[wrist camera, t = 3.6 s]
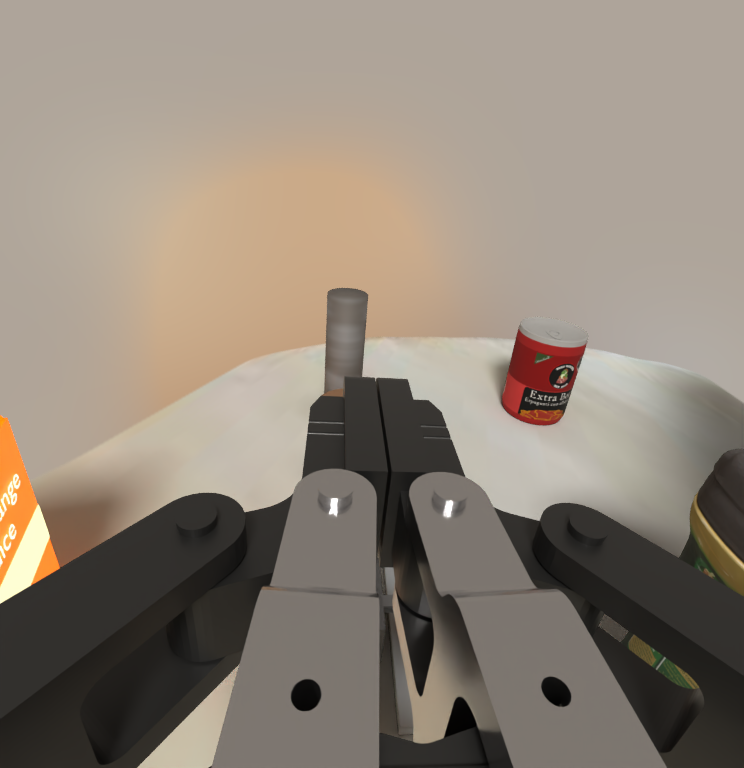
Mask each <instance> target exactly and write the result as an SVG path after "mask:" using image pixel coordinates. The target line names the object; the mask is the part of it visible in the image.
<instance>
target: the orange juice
mask: <svg viewBox="0 0 744 768" xmlns="http://www.w3.org/2000/svg"><path fill="white" fill-rule="evenodd" d="M49 537H50V535H49V532H48V529H47V526H46V523H45V521H44V518H43V515H42V512H41V509H40V506H39V504H37V501H36V498H35V496H34V493H33V490H32V487H31V484H30V481H29V478H28V476H27V473H26V470H25V467H24V464H23V461H22V459H21V456H20V453H19V450H18V447H17V444H16V441H15V439H14V436H13V433H12V430H11V427H10V424H9V421H8V419H7V418H3V417H2V416H0V603H2V602H4V601H5V600H7V599H9V598H10V597H12V596H14V595H15V594H17V593H19V592H20V591H22V590H24V589H26V588H27V587H29V586H31V585H32V584H34V583H36V582H37V581H39V580H41V579H42V578H44V577H46V576H47V575H49V574H51V573H53V572H54V571H56V570H58V569H59V568H60V567H59V564H58V561H57V558H56V555H55V553H54V550H53V547H52V544H51V541H50V538H49Z"/></svg>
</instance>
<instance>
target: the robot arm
mask: <svg viewBox="0 0 744 768" xmlns="http://www.w3.org/2000/svg"><path fill="white" fill-rule="evenodd" d="M377 556H379V567H391V568H394V577H395V586H394V592H393V599H392V605H393V611H394V617H395V622H396V627H397V632H398V637H399V643H400V648H401V653H402V658H403V663H404V669H405V674H406V679H407V684H408V689H409V694H410V700H411V705H412V713H413V742H412V741H408V740H404V739H401V738H397V737H394V736H390V735H386V734H383V733H379V595H378V594H377V593H376V564H377ZM604 613H605V614H606V615H608V616H609V617H610V618H612V619H613V620H615V621H616V622H617V623H619V624H620V625H621V626H623V627H624V628H626V629H627V630H628V631H630V632H631V633H632V634H634V635H635V636H637V637H638V638H639V639H641V640H642V641H643V642H645V643H646V644H648V645H649V646H650V647H652V648H653V649H654V650H656V651H657V652H659V653H660V654H661V655H663V656H664V657H665V658H667V659H668V660H670V661H671V662H672V663H674V664H675V665H676V666H678V667H679V668H680V669H682V670H683V671H684V672H686V673H687V674H688V675H689V676H690V677H691V678H692V679H693V680H694V681H695V682H696V684H697V685H698V686H699V688H696V689H689V688H685V687H682V686H679V685H677V684H675V683H674V682H672V681H671V680H669V679H668V678H667V677H665V676H664V675H663V674H661V673H660V672H659V671H657V670H656V669H655V668H653V667H652V666H651V665H649V664H648V663H647V662H645V661H644V660H643V659H641V658H640V657H639V656H637V655H636V654H635V653H633V652H632V651H631V650H629V649H628V648H627V647H625V646H624V645H623V644H621V643H620V642H619V641H617V640H616V639H615V638H613V637H612V636H611V635H609V634H608V633H607V632H605V631H604V630H603V629H601V628H600V627H599V626H598V625H599V623H600V621H601V619H602V617H603V615H604ZM239 663H240V665H239ZM238 665H239V668H238V672H237V676H236V679H235V683H234V687H233V690H232V694H231V698H230V701H229V705H228V709H227V712H226V716H225V720H224V723H223V727H222V731H221V735H220V738H219V742H218V746H217V749H216V753H215V757H214V760H213V764H212V766H210V767H209V768H744V596H742V595H740V594H739V593H737V592H735V591H733V590H732V589H730V588H728V587H727V586H725V585H723V584H722V583H720V582H718V581H716V580H715V579H713V578H711V577H710V576H708V575H706V574H705V573H703V572H701V571H699V570H698V569H696V568H694V567H693V566H691V565H689V564H688V563H686V562H684V561H682V560H681V559H679V558H677V557H676V556H674V555H672V554H671V553H669V552H667V551H665V550H664V549H662V548H660V547H659V546H657V545H655V544H654V543H652V542H650V541H648V540H647V539H645V538H643V537H642V536H640V535H638V534H637V533H635V532H633V531H631V530H630V529H628V528H626V527H625V526H623V525H621V524H620V523H618V522H616V521H614V520H613V519H611V518H609V517H608V516H606V515H604V514H602V513H600V512H599V511H597V510H594V509H592V508H589V507H586V506H583V505H579V504H573V503H559V504H554V505H552V506H550V507H548V508H546V509H545V511H544V512H543V514H542V516H541V519H540V521H537V520H533V519H529V518H525V517H521V516H517V515H514V514H510V513H507V512H503V511H501V510H498V509H496V508H494V507H493V505H492V503H491V502H490V500H489V498H488V496H487V494H486V493H485V491H484V490H483V489H482V488H481V487H480V486H479V485H477V484H476V483H475V482H473V481H471V480H470V479H468V478H466V477H465V475H464V472H463V469H462V467H461V464H460V461H459V459H458V456H457V453H456V450H455V448H454V445H453V442H452V440H450V434H449V431H448V429H447V428H446V423H445V420H444V418H443V415H442V412H441V411H440V410H439V409H437V408H436V407H435V406H434V405H433V404H432V403H431V402H430V401H429V400H413V397H412V393H411V390H410V386H409V382H408V380H407V379H393V378H377V379H376V382H375V378H370V377H349V376H344V384H343V397H339V396H320V397H319V398H318V399H317V400H316V402H315V403H314V404H313V405H312V406H311V407H310V416H309V424H308V434H307V441H306V450H305V459H304V467H303V476H302V480H301V481H300V482H299V483H298V484H297V486H296V487H295V490H294V493H293V494H292V495H291V496H290V497H289V498H287V499H286V500H284V501H282V502H281V503H279V504H276V505H274V506H271V507H267V508H263V509H259V510H254V511H250V512H245V513H244V510H243V508H242V507H241V505H240V504H239V503H238V502H236V501H235V500H234V499H232V498H230V497H228V496H225V495H222V494H216V493H198V494H192V495H188V496H185V497H182V498H179V499H177V500H175V501H173V502H171V503H169V504H167V505H166V506H164V507H162V508H160V509H159V510H157V511H155V512H154V513H152V514H150V515H149V516H147V517H145V518H144V519H142V520H140V521H139V522H137V523H135V524H133V525H132V526H130V527H128V528H127V529H125V530H123V531H122V532H120V533H118V534H117V535H115V536H113V537H112V538H110V539H108V540H106V541H105V542H103V543H101V544H100V545H98V546H96V547H95V548H93V549H91V550H90V551H88V552H86V553H85V554H83V555H81V556H79V557H78V558H76V559H74V560H73V561H71V562H69V563H68V564H66V565H64V566H63V567H61V568H59V569H58V570H56V571H54V572H53V573H51V574H49V575H47V576H46V577H44V578H42V579H41V580H39V581H37V582H36V583H34V584H32V585H31V586H29V587H27V588H26V589H24V590H22V591H20V592H19V593H17V594H15V595H14V596H12V597H10V598H9V599H7V600H5V601H4V602H2V603H0V768H137V767H138V766H139V765H140V764H141V763H142V762H143V761H144V760H145V759H146V758H147V757H148V756H149V755H150V754H151V753H152V752H153V751H154V750H155V749H156V748H157V747H158V746H159V745H160V744H161V743H162V742H163V741H164V740H165V739H166V738H167V737H168V736H169V735H170V734H171V733H172V732H173V731H174V729H175V728H176V727H177V726H178V725H179V724H180V723H181V722H182V721H183V720H184V719H185V718H186V717H187V716H188V715H189V714H190V713H191V712H192V711H193V710H194V709H195V708H196V707H197V706H198V705H199V704H200V703H201V702H202V701H203V700H204V699H205V698H206V697H207V696H208V695H209V694H210V693H211V692H212V691H213V690H214V689H215V688H216V687H217V686H218V685H219V684H220V683H221V682H222V681H223V680H224V679H225V678H226V677H227V676H228V675H229V674H230V673H231V672H232V671H233V670H234V669H235V668H236V667H237V666H238Z"/></svg>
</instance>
